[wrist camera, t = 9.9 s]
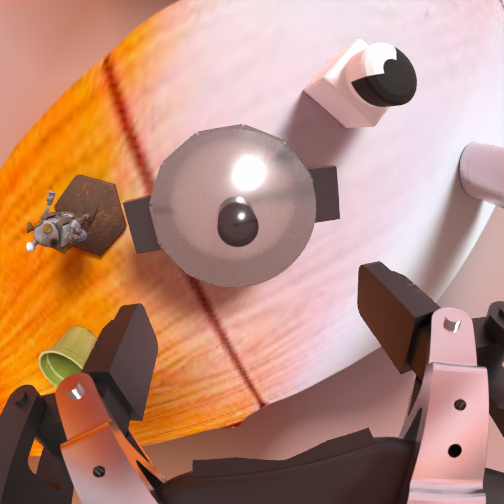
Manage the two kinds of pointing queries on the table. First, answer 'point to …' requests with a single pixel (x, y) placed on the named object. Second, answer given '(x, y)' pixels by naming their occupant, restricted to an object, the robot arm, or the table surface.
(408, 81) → the medicine bottle
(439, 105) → the table surface
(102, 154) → the table surface
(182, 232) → the lid
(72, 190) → the robot figurine
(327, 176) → the pot
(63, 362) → the plant pot
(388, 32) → the table surface
